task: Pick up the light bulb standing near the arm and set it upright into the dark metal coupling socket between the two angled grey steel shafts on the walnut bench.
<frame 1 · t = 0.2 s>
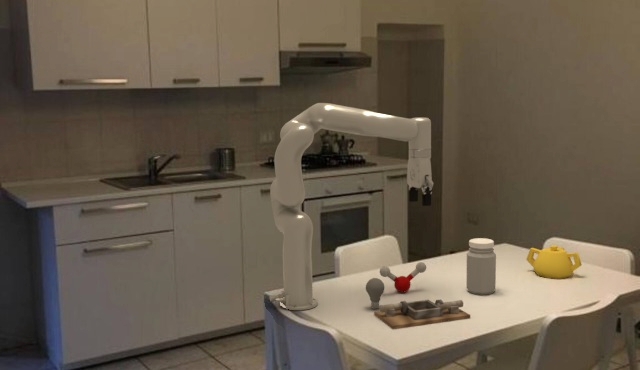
hand: (419, 203, 245), 31 cm above the table, fingers open, 9 cm apart
shaft bench: (421, 316, 221), on the table
molecular model: (402, 292, 248), on the table
light bulb: (375, 308, 230), on the table
yellow sugar bowl: (554, 273, 268), on the table
jar: (480, 292, 246), on the table
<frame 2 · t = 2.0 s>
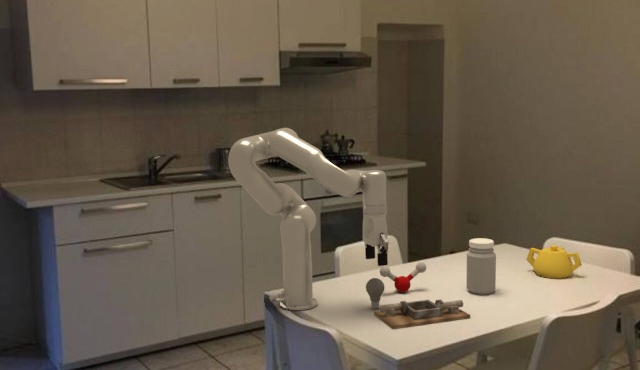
hand: (376, 262, 228), 15 cm above the table, fingers open, 9 cm apart
nothing on the table moved.
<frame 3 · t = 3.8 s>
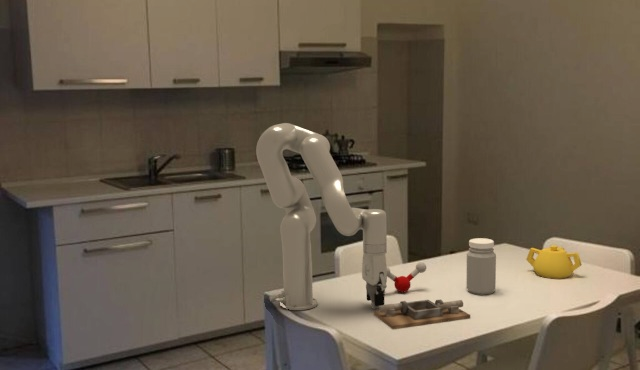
hand: (375, 302, 230), 2 cm above the table, fingers closed on light bulb, 5 cm apart
light bulb: (375, 308, 230), on the table, touching gripper
everything else where it was.
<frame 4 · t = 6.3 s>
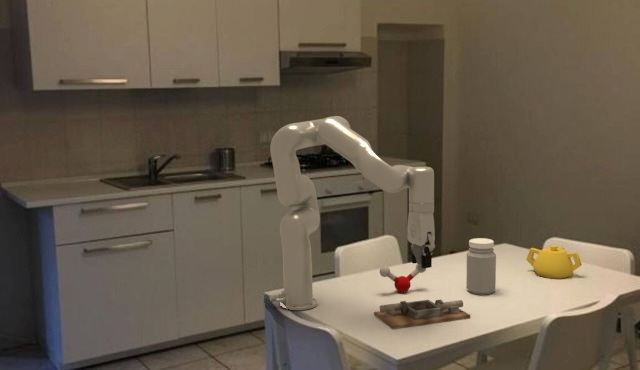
hand: (421, 264, 219), 17 cm above the table, fingers closed on light bulb, 5 cm apart
light bulb: (421, 271, 219), point 14 cm above the table, touching gripper
everything else where it was.
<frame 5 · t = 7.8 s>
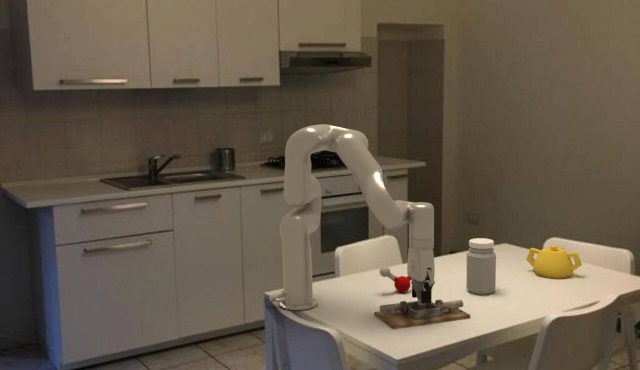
hand: (421, 299, 221), 6 cm above the table, fingers closed on light bulb, 5 cm apart
light bulb: (421, 306, 221), point 3 cm above the table, touching gripper
everything else where it was.
when the fingers open (5 cm above the table, at t = 8.8 s): light bulb drops 2 cm, resting on shaft bench.
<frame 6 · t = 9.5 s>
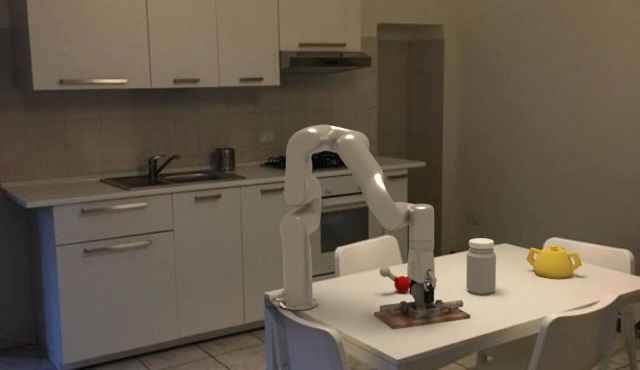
hand: (421, 298, 221), 6 cm above the table, fingers open, 9 cm apart
light bulb: (420, 314, 221), point 1 cm above the table, touching shaft bench
everything else where it was.
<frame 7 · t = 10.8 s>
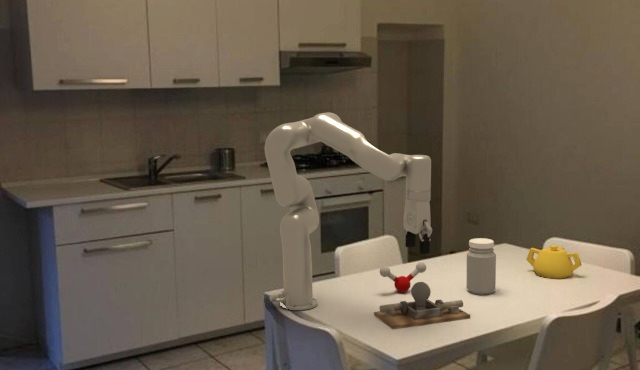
hand: (417, 250, 220), 21 cm above the table, fingers open, 9 cm apart
nothing on the table moved.
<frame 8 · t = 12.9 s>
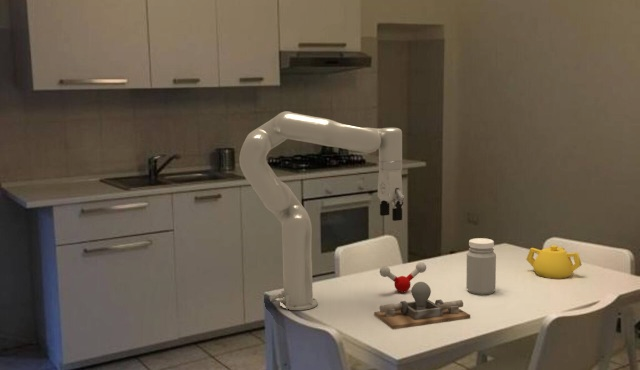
hand: (390, 217, 234), 28 cm above the table, fingers open, 9 cm apart
nothing on the table moved.
at the end: light bulb 0.3 cm from the shaft bench (horizontally); light bulb point 0.8 cm above the table; the gripper is holding nothing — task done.
